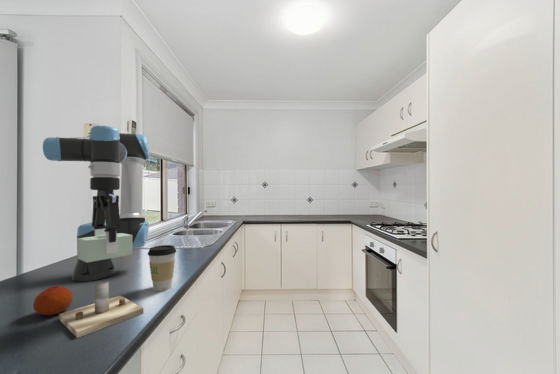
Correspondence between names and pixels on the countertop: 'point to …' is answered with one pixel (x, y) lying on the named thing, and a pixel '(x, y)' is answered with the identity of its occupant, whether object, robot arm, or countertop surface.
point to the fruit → (53, 300)
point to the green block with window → (103, 247)
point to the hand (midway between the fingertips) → (105, 251)
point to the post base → (99, 318)
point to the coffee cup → (162, 266)
